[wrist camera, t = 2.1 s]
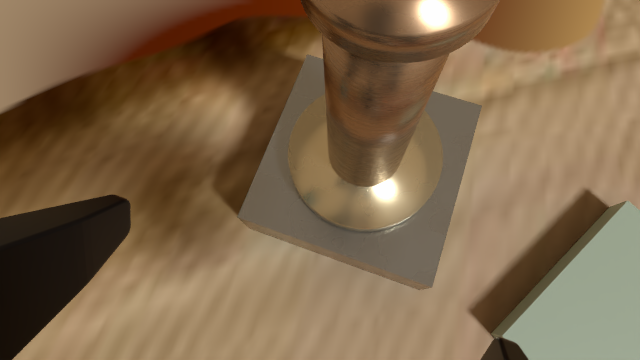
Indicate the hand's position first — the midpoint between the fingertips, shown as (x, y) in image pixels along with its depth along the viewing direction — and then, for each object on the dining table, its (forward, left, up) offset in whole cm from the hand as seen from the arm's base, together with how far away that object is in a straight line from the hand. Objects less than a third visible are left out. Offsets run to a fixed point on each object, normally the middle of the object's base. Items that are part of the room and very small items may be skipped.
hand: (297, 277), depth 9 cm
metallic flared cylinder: (+6, -3, -13) cm, 14 cm away
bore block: (+6, -3, -13) cm, 15 cm away
